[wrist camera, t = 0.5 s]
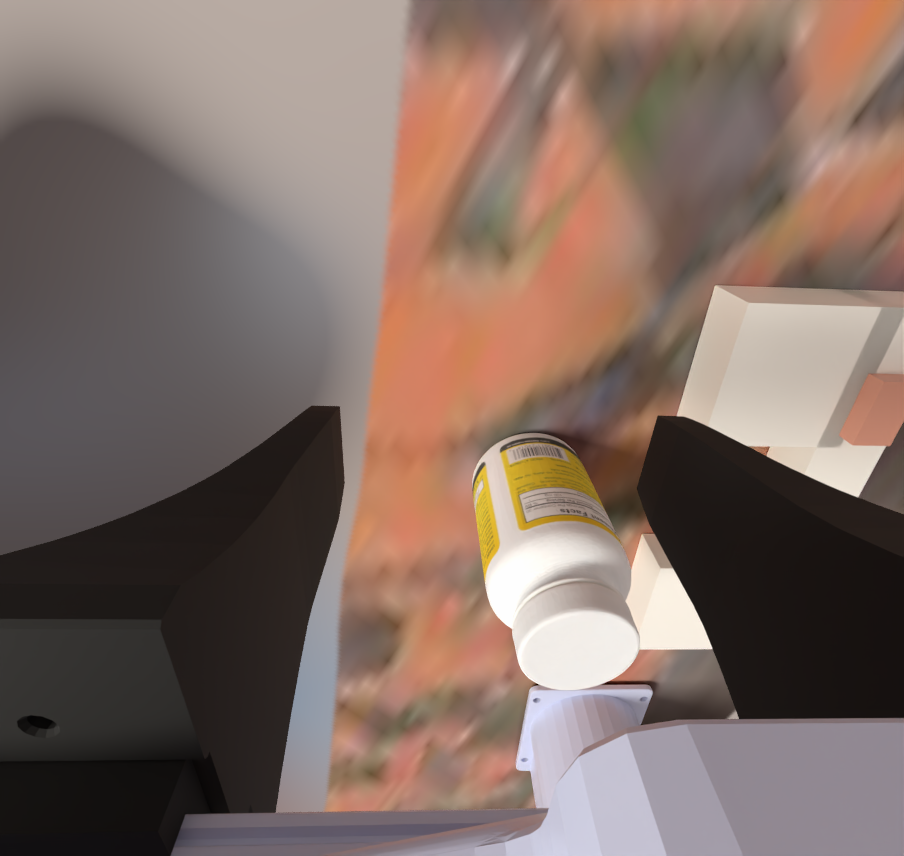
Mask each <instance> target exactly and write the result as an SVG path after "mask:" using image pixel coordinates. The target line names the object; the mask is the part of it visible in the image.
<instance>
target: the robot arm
mask: <svg viewBox="0 0 904 856" xmlns="http://www.w3.org/2000/svg"><path fill="white" fill-rule="evenodd" d="M344 483H345V482H344V466H343V451H342V435H341V419H340V407H339V406H311V407H309V408H308V409H306V410H305V411H304V412H303V413H301V414H300V415H298V416H297V417H296V418H295V419H293V420H292V421H291V422H289V423H288V424H287V425H286V426H284V427H283V428H282V429H280V430H279V431H278V432H276V433H275V434H274V435H272V436H271V437H270V438H268V439H267V440H266V441H264V442H263V443H262V444H260V445H259V446H257V447H256V448H254V449H253V450H251V451H250V452H249V453H247V454H245V455H244V456H242V457H241V458H239V459H238V460H236V461H235V462H233V463H232V464H230V465H229V466H227V467H225V468H224V469H222V470H221V471H219V472H217V473H215V474H214V475H212V476H210V477H208V478H206V479H205V480H203V481H201V482H199V483H197V484H195V485H193V486H191V487H189V488H187V489H186V490H183V491H181V492H179V493H177V494H175V495H173V496H171V497H168V498H166V499H164V500H162V501H159V502H157V503H155V504H152V505H150V506H148V507H145V508H143V509H141V510H139V511H136V512H134V513H132V514H129V515H126V516H124V517H121V518H119V519H116V520H113V521H110V522H108V523H105V524H102V525H100V526H97V527H94V528H91V529H88V530H85V531H82V532H79V533H76V534H73V535H70V536H67V537H64V538H60V539H57V540H54V541H51V542H47V543H44V544H40V545H36V546H33V547H29V548H25V549H22V550H18V551H14V552H11V553H7V554H4V555H0V856H904V514H901V513H898V512H895V511H892V510H890V509H887V508H884V507H881V506H878V505H876V504H873V503H871V502H868V501H866V500H863V499H861V498H858V497H855V496H853V495H850V494H848V493H845V492H843V491H840V490H838V489H835V488H833V487H831V486H828V485H826V484H824V483H822V482H819V481H817V480H815V479H813V478H811V477H809V476H806V475H804V474H802V473H800V472H798V471H796V470H793V469H791V468H789V467H787V466H785V465H783V464H781V463H779V462H777V461H775V460H773V459H771V458H769V457H767V456H765V455H763V454H761V453H759V452H757V451H755V450H753V449H751V448H749V447H748V446H746V445H744V444H742V443H740V442H738V441H736V440H734V439H732V438H730V437H728V436H726V435H724V434H722V433H720V432H718V431H716V430H714V429H712V428H710V427H708V426H706V425H704V424H702V423H700V422H697V421H695V420H692V419H690V418H687V417H684V416H658V417H657V420H656V424H655V427H654V431H653V434H652V438H651V441H650V445H649V448H648V452H647V455H646V459H645V462H644V466H643V469H642V472H641V476H640V479H639V483H638V486H637V490H638V493H639V496H640V499H641V502H642V505H643V508H644V511H645V514H646V516H647V519H648V521H649V524H650V526H651V528H652V530H653V532H654V534H655V536H656V538H657V540H658V542H659V543H660V545H661V547H662V549H663V551H664V553H665V555H666V556H667V558H668V560H669V562H670V564H671V566H672V567H673V569H674V571H675V573H676V575H677V577H678V578H679V580H680V582H681V584H682V586H683V587H684V589H685V591H686V593H687V595H688V597H689V598H690V600H691V602H692V604H693V606H694V608H695V610H696V612H697V614H698V616H699V618H700V620H701V622H702V624H703V627H704V629H705V631H706V634H707V636H708V639H709V641H710V644H711V646H712V649H713V651H714V653H715V656H716V658H717V661H718V663H719V666H720V668H721V671H722V674H723V676H724V679H725V682H726V684H727V687H728V690H729V692H730V695H731V698H732V700H733V703H734V706H735V708H736V711H737V714H738V717H739V719H697V720H673V721H666V722H660V723H654V724H647V725H641V723H642V720H643V718H644V715H645V712H646V710H647V707H648V705H649V702H650V699H651V697H652V694H653V691H652V689H651V687H650V686H649V685H645V684H640V685H598V686H594V687H590V688H585V689H580V690H557V689H551V688H547V687H544V686H541V685H537V686H533V687H532V688H530V690H529V695H528V700H527V706H526V711H525V716H524V721H523V727H522V732H521V737H520V742H519V748H518V753H517V758H516V768H517V769H518V770H520V771H531V778H532V784H533V790H534V797H535V803H536V808H527V809H469V810H410V811H351V812H296V813H295V812H293V813H275V812H276V805H277V799H278V792H279V785H280V778H281V772H282V766H283V760H284V754H285V748H286V742H287V736H288V729H289V723H290V717H291V711H292V706H293V700H294V695H295V689H296V684H297V677H298V672H299V667H300V662H301V656H302V651H303V645H304V641H305V636H306V631H307V625H308V621H309V617H310V613H311V609H312V605H313V602H314V598H315V595H316V592H317V588H318V585H319V582H320V579H321V576H322V572H323V569H324V566H325V563H326V559H327V556H328V553H329V550H330V547H331V543H332V540H333V537H334V533H335V530H336V527H337V523H338V519H339V514H340V507H341V502H342V496H343V489H344ZM640 725H641V726H640Z"/></svg>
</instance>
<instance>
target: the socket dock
mask: <svg viewBox="0 0 904 856" xmlns="http://www.w3.org/2000/svg"><path fill="white" fill-rule="evenodd" d="M677 416H684V417H687V418H690V419H692V420H695V421H697V422H700V423H702V424H704V425H706V426H708V427H710V428H712V429H714V430H716V431H718V432H720V433H722V434H724V435H726V436H728V437H730V438H732V439H734V440H736V441H738V442H740V443H742V444H744V445H746V446H770V448H769V450H768V453H767V455H766V456H767V457H769V458H771V459H773V460H775V461H777V462H779V463H781V464H783V465H785V466H787V467H789V468H791V469H793V470H796V471H798V472H800V473H802V474H804V475H806V476H809V477H811V478H813V479H815V480H817V481H819V482H822V483H824V484H826V485H828V486H831V487H833V488H835V489H838V490H840V491H843V492H845V493H848V494H850V495H853V496H855V497H859V495H860V493H861V491H862V489H863V487H864V486H865V484H866V482H867V480H868V478H869V476H870V475H871V473H872V471H873V469H874V467H875V465H876V463H877V462H878V460H879V458H880V456H881V454H882V452H883V451H884V449H885V447H886V446H891V444H892V442H893V440H894V438H895V436H896V435H897V433H898V431H899V429H900V427H901V425H902V424H903V422H904V292H903V291H873V290H844V289H814V288H784V287H755V286H725V285H715V287H714V291H713V294H712V298H711V301H710V304H709V308H708V311H707V315H706V318H705V321H704V325H703V328H702V332H701V335H700V338H699V342H698V345H697V348H696V352H695V355H694V359H693V362H692V365H691V369H690V372H689V376H688V379H687V382H686V386H685V389H684V393H683V396H682V399H681V403H680V406H679V410H678V413H677ZM625 602H626V603H627V605H628V607H629V609H630V612H631V615H632V617H633V620H634V623H635V625H636V627H637V630H638V632H639V636H640V648H639V649H712V646H711V644H710V641H709V639H708V636H707V634H706V631H705V629H704V627H703V624H702V622H701V620H700V618H699V616H698V614H697V612H696V610H695V608H694V606H693V604H692V602H691V600H690V598H689V597H688V595H687V593H686V591H685V589H684V587H683V586H682V584H681V582H680V580H679V578H678V577H677V575H676V573H675V571H674V569H673V567H672V566H671V564H670V562H669V560H668V558H667V556H666V555H665V553H664V551H663V549H662V547H661V545H660V543H659V542H658V540H657V538H656V536H655V534H642V535H641V539H640V542H639V545H638V549H637V552H636V556H635V559H634V562H633V566H632V569H631V587H630V591H629V594H628V596H627V599H626V601H625Z"/></svg>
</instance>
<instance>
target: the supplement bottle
mask: <svg viewBox="0 0 904 856" xmlns="http://www.w3.org/2000/svg"><path fill="white" fill-rule="evenodd" d="M472 489H473V498H474V506H475V512H476V520H477V527H478V534H479V542H480V549H481V556H482V564H483V571H484V579H485V585H486V590H487V595H488V599H489V602H490V605H491V607H492V609H493V610H494V612H495V614H496V615H497V616H498V617H499V618H500V620H501V621H502V622H503V623H505V624H506V625H507V626H509V627H510V628H512V629H513V630H512V635H513V640H514V644H515V648H516V653H517V658H518V662H519V665H520V667H521V669H522V671H523V672H524V674H525V675H526V676H527V677H528V678H529V679H531V680H532V681H534V682H535V683H537V684H539V685H541V686H544V687H547V688H551V689H557V690H580V689H585V688H590V687H594V686H598V685H601V684H603V683H605V682H608V681H610V680H612V679H614V678H615V677H617V676H619V675H620V674H621V673H623V672H624V671H625V670H626V669H627V668H628V667H629V666H630V665H631V664H632V663H633V661H634V660H635V658H636V656H637V655H638V652H639V648H640V636H639V632H638V630H637V627H636V625H635V623H634V620H633V617H632V615H631V612H630V609H629V607H628V605H627V603H626V602H625V601H626V599H627V596H628V594H629V591H630V587H631V568H630V563H629V560H628V558H627V556H626V553H625V550H624V548H623V546H622V544H621V542H620V540H619V538H618V536H617V534H616V532H615V530H614V528H613V525H612V523H611V521H610V519H609V517H608V515H607V513H606V511H605V509H604V507H603V505H602V503H601V501H600V499H599V497H598V495H597V493H596V490H595V488H594V486H593V484H592V482H591V480H590V478H589V476H588V474H587V472H586V470H585V468H584V466H583V464H582V462H581V460H580V458H579V457H578V456H577V454H576V453H575V451H574V450H573V449H572V448H571V447H570V446H569V445H567V444H566V443H565V442H563V441H562V440H560V439H558V438H556V437H553V436H550V435H546V434H541V433H524V434H518V435H514V436H511V437H508V438H506V439H504V440H502V441H500V442H498V443H497V444H495V445H494V446H493V447H491V448H490V449H489V450H488V451H487V452H486V453H485V454H484V455H483V456H482V458H481V459H480V461H479V462H478V464H477V466H476V468H475V471H474V475H473V480H472Z"/></svg>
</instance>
